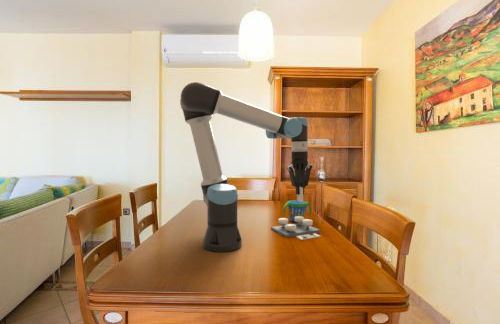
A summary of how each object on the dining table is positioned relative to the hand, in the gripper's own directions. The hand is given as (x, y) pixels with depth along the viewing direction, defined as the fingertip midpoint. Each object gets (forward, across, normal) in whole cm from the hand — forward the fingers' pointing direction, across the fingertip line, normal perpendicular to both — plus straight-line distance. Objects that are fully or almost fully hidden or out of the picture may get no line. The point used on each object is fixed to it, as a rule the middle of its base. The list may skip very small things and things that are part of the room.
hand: (300, 201), depth 132 cm
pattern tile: (+13, -4, -12) cm, 18 cm away
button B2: (+12, +1, +2) cm, 12 cm away
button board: (+13, -4, -2) cm, 14 cm away
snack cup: (+14, +7, +13) cm, 20 cm away
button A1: (+13, -8, -5) cm, 16 cm away
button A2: (+11, -8, +2) cm, 14 cm away
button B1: (+12, +1, -5) cm, 12 cm away
